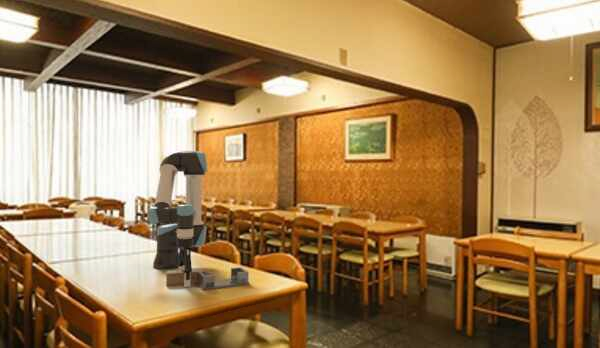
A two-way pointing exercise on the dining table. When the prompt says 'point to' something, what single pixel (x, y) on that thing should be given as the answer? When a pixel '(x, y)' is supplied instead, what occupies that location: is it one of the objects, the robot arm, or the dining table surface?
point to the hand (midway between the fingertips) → (184, 283)
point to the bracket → (237, 279)
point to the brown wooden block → (180, 277)
